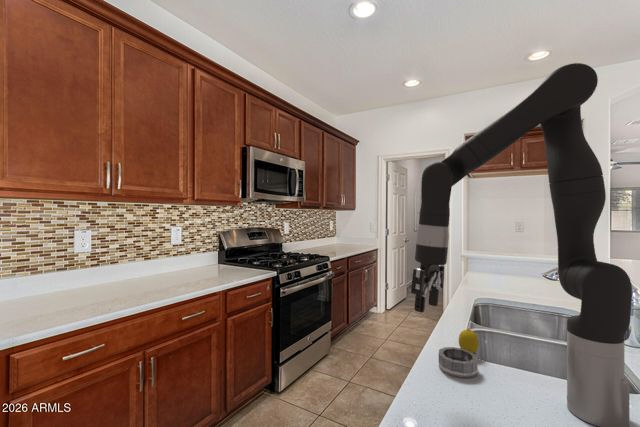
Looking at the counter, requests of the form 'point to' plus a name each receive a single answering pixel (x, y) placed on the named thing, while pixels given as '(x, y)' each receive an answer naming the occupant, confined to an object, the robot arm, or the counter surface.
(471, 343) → the lemon
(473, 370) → the holder
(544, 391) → the counter surface
